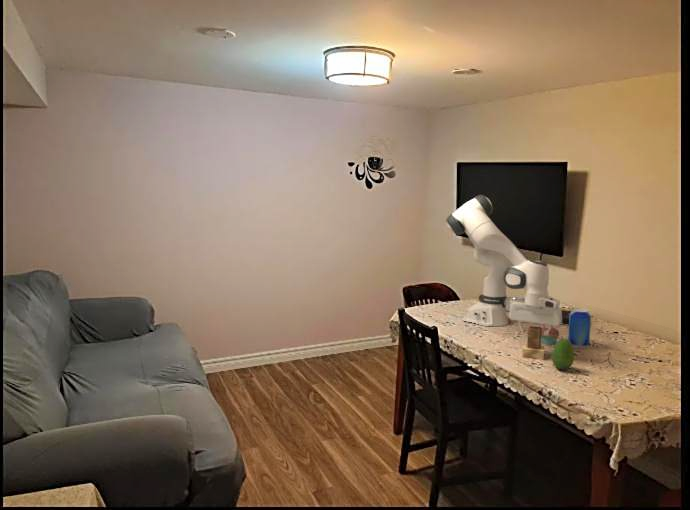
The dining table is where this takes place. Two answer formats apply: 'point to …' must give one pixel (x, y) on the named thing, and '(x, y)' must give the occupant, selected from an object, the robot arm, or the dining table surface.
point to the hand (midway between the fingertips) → (534, 333)
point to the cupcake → (551, 337)
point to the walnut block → (534, 337)
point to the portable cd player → (565, 316)
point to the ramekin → (509, 301)
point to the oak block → (533, 352)
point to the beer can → (579, 327)
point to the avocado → (563, 354)
